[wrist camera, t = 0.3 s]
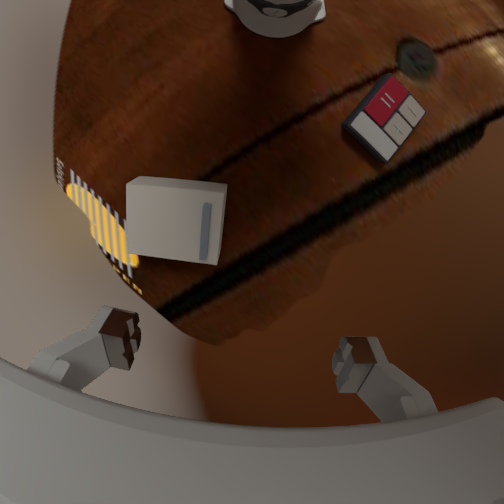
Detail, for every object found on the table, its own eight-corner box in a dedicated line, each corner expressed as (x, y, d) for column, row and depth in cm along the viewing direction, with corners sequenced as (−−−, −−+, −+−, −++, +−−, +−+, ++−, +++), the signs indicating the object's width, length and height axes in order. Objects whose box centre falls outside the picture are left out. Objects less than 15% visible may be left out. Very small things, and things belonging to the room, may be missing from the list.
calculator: (428, 112, 43) (388, 165, 48) (417, 112, 47) (379, 162, 52) (391, 71, 40) (347, 125, 45) (382, 74, 44) (340, 125, 49)
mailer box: (139, 175, 53) (128, 182, 48) (227, 183, 54) (224, 191, 49) (140, 238, 60) (130, 251, 54) (220, 249, 61) (217, 262, 55)
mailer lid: (127, 183, 48) (120, 187, 45) (224, 192, 49) (222, 197, 46) (129, 251, 54) (123, 258, 51) (217, 263, 55) (215, 271, 52)
